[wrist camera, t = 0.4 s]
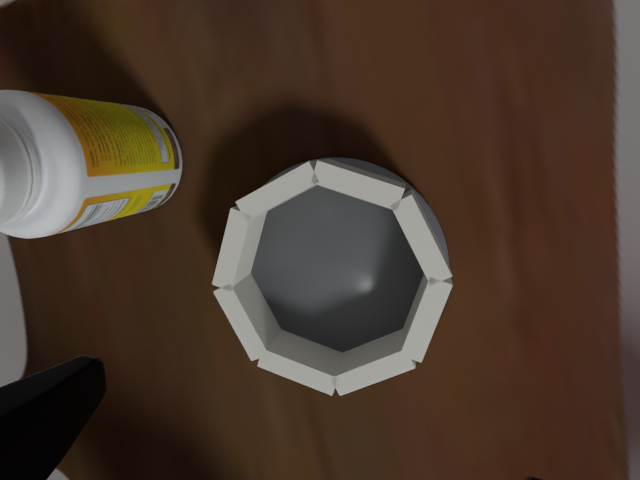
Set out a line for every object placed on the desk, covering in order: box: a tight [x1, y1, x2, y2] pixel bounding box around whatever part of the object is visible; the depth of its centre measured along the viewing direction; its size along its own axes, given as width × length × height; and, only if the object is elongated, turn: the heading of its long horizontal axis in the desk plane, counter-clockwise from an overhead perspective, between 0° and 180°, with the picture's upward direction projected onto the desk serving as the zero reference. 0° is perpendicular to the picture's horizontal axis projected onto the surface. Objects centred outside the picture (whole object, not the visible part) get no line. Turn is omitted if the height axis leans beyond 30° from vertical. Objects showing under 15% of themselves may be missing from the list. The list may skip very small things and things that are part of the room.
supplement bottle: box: [0, 90, 182, 238], centre depth 19 cm, size 6×6×10 cm
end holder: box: [212, 157, 453, 396], centre depth 21 cm, size 11×11×3 cm
